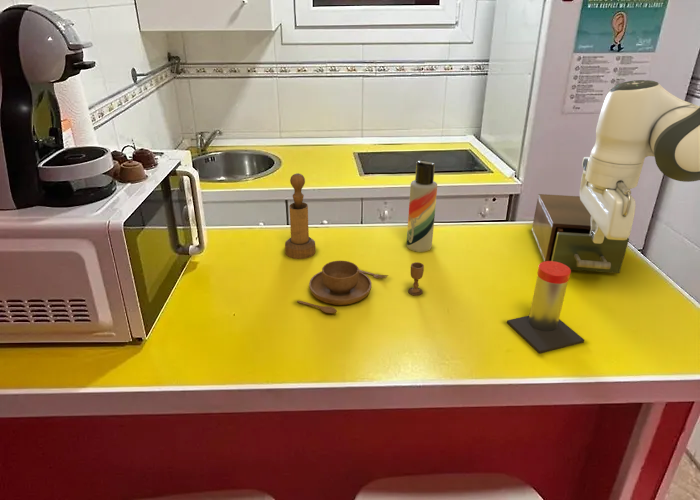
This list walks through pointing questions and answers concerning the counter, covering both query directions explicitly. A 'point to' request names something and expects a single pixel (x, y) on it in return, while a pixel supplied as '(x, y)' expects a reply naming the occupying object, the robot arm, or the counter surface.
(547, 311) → the spice jar
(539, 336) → the mat
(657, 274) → the counter surface
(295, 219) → the mortar and pestle
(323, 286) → the place setting
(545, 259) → the cabinet
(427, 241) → the lotion bottle
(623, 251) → the drawer
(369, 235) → the counter surface
